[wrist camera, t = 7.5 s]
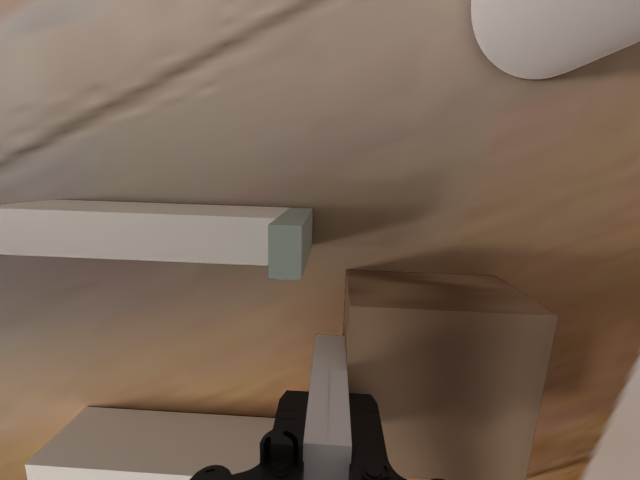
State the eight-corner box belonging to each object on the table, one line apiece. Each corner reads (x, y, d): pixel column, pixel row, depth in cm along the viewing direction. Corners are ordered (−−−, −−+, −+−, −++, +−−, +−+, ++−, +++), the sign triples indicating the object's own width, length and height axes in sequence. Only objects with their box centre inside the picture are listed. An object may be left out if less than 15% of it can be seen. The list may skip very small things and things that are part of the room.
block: (339, 395, 19) (341, 472, 14) (345, 268, 17) (350, 306, 12) (474, 403, 19) (524, 485, 14) (493, 275, 17) (558, 316, 12)
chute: (90, 433, 20) (-2, 530, 15) (55, 199, 17) (-78, 211, 11) (306, 447, 20) (296, 553, 14) (312, 208, 16) (302, 225, 11)
